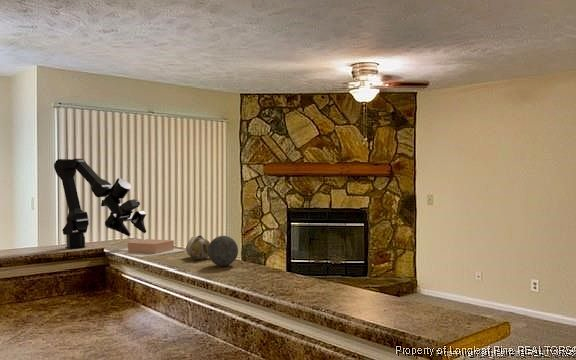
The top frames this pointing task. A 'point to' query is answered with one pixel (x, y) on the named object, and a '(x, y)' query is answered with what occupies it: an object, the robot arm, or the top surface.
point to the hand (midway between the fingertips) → (137, 233)
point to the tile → (151, 246)
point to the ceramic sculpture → (198, 247)
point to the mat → (125, 251)
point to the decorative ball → (223, 250)
